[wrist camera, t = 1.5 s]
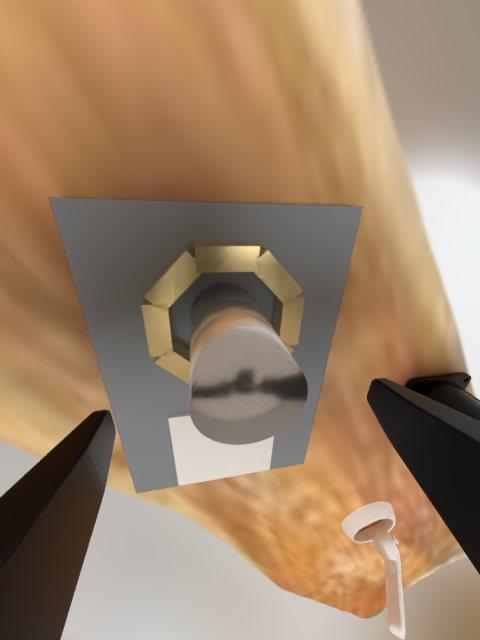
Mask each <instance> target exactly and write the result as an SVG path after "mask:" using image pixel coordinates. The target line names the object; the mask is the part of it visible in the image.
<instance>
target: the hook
mask: <svg viewBox="0 0 480 640" xmlns="http://www.w3.org/2000/svg"><path fill="white" fill-rule="evenodd" d="M378 520H380V521H379V522H377V523H376V524H374V525H372V526H370V527H367V528H365V529H362V528H363V527H364V526H366V525H368V524H370V523H372V522H375V521H378ZM395 523H396V521H395V515H394V512H393V509H392V506H391V504H390V503H388V502H384V501H379V502H373V503H370V504H367V505H364V506H362V507H360V508H358V509H356V510H354V511H353V512H352V513H350V514H349V515H348V516H347V517H346V518H345V519H344V520H343V522H342V524H341V529H342V530H343V531H344V533H345V534H346V535H347V536H348V537H349V538H350V539H351V540H352V541H353V542H355V543H366V542H370V541H373V543H374V548H375V549H376V550H377V551H378V552H379V553H380V554H381V556H382V557H383V559H384V561H385V580H386V607H387V620H388V621H387V622H388V627H389V629H390V631H391V632H392V633H393V634H394V635H396V636H397V637H399V638H400V639H402V640H404V638H405V616H404V603H403V591H402V578H401V561H400V555H399V552H398V550H397V547H396V544H395V542H396V543H397V544H399V543H398V541H397V539H396V537H395V536H394V535H392V536H393V538H392V537H391V536H390V534H388V532H389V531H390V530H391V529H392V528H393V527H394V525H395ZM360 529H361V530H360Z"/></svg>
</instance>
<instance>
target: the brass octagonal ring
mask: <svg viewBox="0 0 480 640" xmlns="http://www.w3.org/2000/svg"><path fill="white" fill-rule="evenodd" d="M211 272H254V273H255V274H256V275H257V276H258V277H259V278H260V279H261V280H262V281H263V282H264V283H265V284H266V285H267V286H268V287H269V288H270V289H271V291H272V292H273V293H274V294H275V296H274V307H273V317H272V327H273V328H274V330H275V331H276V333H277V334H278V336H279V337H280V339H281V340H282V342H283V343H284V345H285V346H286V348H287V349H288V351H289V352H290V354H291V353H292V352H293V351H294V350H293V348H292V347H291V346H290V345H298V340H299V333H300V327H301V320H302V314H303V308H304V301H305V297H304V296H302V295H301V294H300V293H301V292H302V291H303V290H302V289H301V287H300V286H299V285H298V284H297V283H296V282H295V280H294V279H293V278H292V277H291V276H290V275H289V274H288V272H287V271H286V270H285V269H284V268H283V267H282V265H281V264H280V263H279V262H278V261H277V260H276V258H275V257H274V256H273V255H272V254H271V253H270V252H269V250H267V249H266V248H264V247H262V246H261V245H257V244H256V243H254V242H195V253H194V252H193V251H192V250H191V249H190V248H189V247H188V246H187V245H186V246H185V248H184V249H183V250H182V251H181V252H180V253H179V254H178V255H177V256H176V257H175V258H174V260H173V261H172V262H171V263H170V264H169V265H168V266H167V267H166V268H165V269H164V271H163V272H162V273H161V274H160V275H159V276H158V277H157V278H156V279H155V280H154V282H153V283H152V284H151V285H150V286H149V287H148V289H147V291H146V293H145V295H144V300H143V302H142V304H141V307H142V313H143V318H144V324H145V330H146V336H147V342H148V347H149V353H150V357H156V359H155V364H157V365H159V366H160V367H162V368H164V369H165V370H167V371H168V372H170V373H172V374H173V375H175V376H177V377H178V378H180V379H182V380H183V381H185V382H186V383H188V384H190V348H189V347H188V346H186V345H185V344H184V343H182V342H181V341H179V340H178V339H177V338H175V336H174V328H173V319H172V310H171V305H172V304H173V303H174V302H175V301H176V300H177V299H178V297H179V296H180V295H181V294H182V293H183V292H184V291H185V290H186V289H187V288H188V287H189V286H190V285H191V284H192V283H193V282H194V281H195V280H196V279H197V278H198V277H199V276H200V274H201V273H211Z"/></svg>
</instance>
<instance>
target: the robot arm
mask: <svg viewBox="0 0 480 640" xmlns="http://www.w3.org/2000/svg"><path fill="white" fill-rule="evenodd" d="M470 380H471V376H469V375H468V374H466V373H461V374H453V375H445V376H437V377H428V378H420V379H413V380H411V381H410V382H409V383H408V385H407V387H404V386H401V385H399V384H397V383H395V382H393V381H391V380H388V379H386V378H378V379H374V380H373V381H372V382H371V385H370V388H369V391H368V394H367V401H368V403H369V405H370V407H371V409H372V410H373V412H374V414H375V416H376V417H377V419H378V421H379V423H380V425H381V426H382V428H383V430H384V432H385V434H386V435H387V437H388V439H389V440H390V442H391V444H392V445H393V447H394V448H395V450H396V451H397V453H398V454H399V456H400V457H401V459H402V460H403V462H404V463H405V465H406V466H407V468H408V469H409V471H410V472H411V474H412V475H413V477H414V478H415V480H416V481H417V482H418V484H419V485H420V487H421V488H422V490H423V491H424V493H425V494H426V496H427V497H428V499H429V500H430V502H431V503H432V505H433V506H434V508H435V509H436V511H437V512H438V514H439V515H440V517H441V518H442V520H443V521H444V522H445V524H446V525H447V527H448V528H449V530H450V531H451V533H452V534H453V536H454V537H455V539H456V540H457V542H458V543H459V545H460V546H461V548H462V549H463V551H464V552H465V554H466V555H467V557H468V558H469V560H470V561H471V562H472V564H473V565H474V567H475V568H476V570H477V571H478V573H479V574H480V400H479V399H477V398H476V397H474V396H473V395H471V394H470V393H468V392H467V391H466V390H465V388H466V387H467V385H468V383H469V382H470ZM115 433H116V432H115V426H114V422H113V419H112V416H111V413H110V411H109V410H100V411H94V412H93V413H91V414H90V415H89V416H88V417H87V418H86V419H85V420H84V421H83V422H81V423H80V424H79V425H78V426H77V427H76V428H75V429H74V430H73V431H72V432H71V433H70V434H68V435H67V436H66V437H65V438H64V439H63V440H62V441H61V442H60V443H59V444H58V445H56V446H55V447H54V448H53V449H52V450H51V451H50V452H49V453H48V454H47V455H46V456H45V457H43V458H42V459H41V460H40V461H39V462H38V463H37V464H36V465H35V466H34V467H33V468H32V469H30V470H29V471H28V472H27V473H26V474H25V475H24V476H23V477H22V478H21V479H20V480H19V481H18V482H16V483H15V484H14V485H13V486H12V487H11V488H10V489H9V490H8V491H7V492H5V494H3V496H1V497H0V640H60V639H61V636H62V632H63V629H64V626H65V622H66V619H67V615H68V612H69V609H70V606H71V602H72V599H73V595H74V592H75V589H76V585H77V582H78V579H79V575H80V572H81V568H82V565H83V562H84V559H85V555H86V552H87V549H88V545H89V542H90V538H91V535H92V532H93V528H94V525H95V522H96V518H97V515H98V511H99V508H100V505H101V502H102V498H103V495H104V491H105V487H106V482H107V477H108V471H109V466H110V461H111V456H112V450H113V445H114V440H115Z"/></svg>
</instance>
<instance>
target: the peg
mask: <svg viewBox="0 0 480 640" xmlns="http://www.w3.org/2000/svg"><path fill="white" fill-rule="evenodd" d="M307 395H308V385H307V380H306V378H305V375H304V374H303V372H302V371H301V369H300V368H299V366H298V365H297V363H296V362H295V360H294V359H293V357H292V356H291V354H290V352H289V351H288V349H287V348H286V346H285V345H284V343H283V342H282V340H281V339H280V337H279V336H278V334H277V333H276V331H275V330H274V328H273V327H272V325H271V324H270V322H269V321H268V319H267V318H266V316H265V315H264V313H263V312H262V310H261V309H260V307H259V306H258V304H257V303H256V301H255V299H254V298H253V296H252V295H251V294H250V293H249V292H248V291H247V290H246V289H244V288H243V287H241V286H239V285H236V284H232V283H219V284H215V285H212V286H210V287H208V288H206V289H205V290H203V291H202V292H201V293H200V294H199V295H198V296H197V297H196V299H195V300H194V302H193V304H192V307H191V312H190V416H191V419H192V422H193V424H194V425H195V427H196V428H197V430H198V431H199V432H200V433H201V434H203V435H204V436H205V437H207V438H209V439H211V440H213V441H216V442H219V443H223V444H229V445H244V444H251V443H256V442H259V441H263V440H265V439H268V438H270V437H272V436H274V435H276V434H278V433H280V432H281V431H283V430H284V429H286V428H287V427H288V426H289V425H290V424H291V423H292V422H293V421H294V420H295V419H296V418H297V417H298V416H299V414H300V413H301V411H302V409H303V408H304V405H305V403H306V400H307Z"/></svg>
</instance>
